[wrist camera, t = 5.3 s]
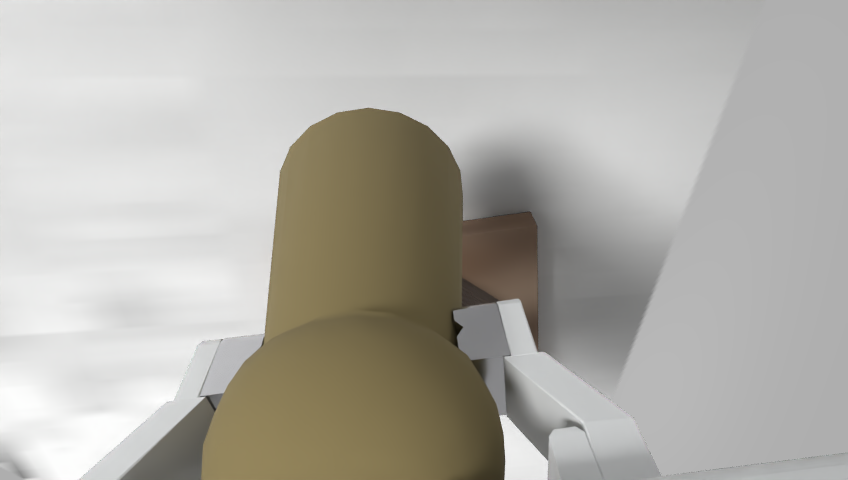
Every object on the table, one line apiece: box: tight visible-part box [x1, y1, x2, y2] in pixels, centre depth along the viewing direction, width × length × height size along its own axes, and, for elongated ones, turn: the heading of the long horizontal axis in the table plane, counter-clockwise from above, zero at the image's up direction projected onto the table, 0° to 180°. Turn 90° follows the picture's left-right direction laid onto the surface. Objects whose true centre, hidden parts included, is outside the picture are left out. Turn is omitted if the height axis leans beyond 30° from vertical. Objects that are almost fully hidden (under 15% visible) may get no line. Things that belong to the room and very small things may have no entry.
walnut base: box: [462, 212, 538, 351], centre depth 31 cm, size 14×14×2 cm
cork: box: [201, 108, 505, 480], centre depth 12 cm, size 6×6×11 cm
